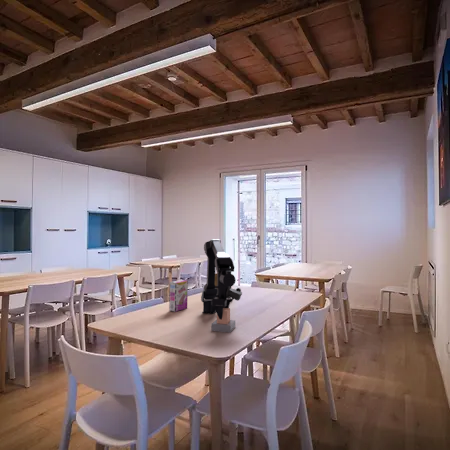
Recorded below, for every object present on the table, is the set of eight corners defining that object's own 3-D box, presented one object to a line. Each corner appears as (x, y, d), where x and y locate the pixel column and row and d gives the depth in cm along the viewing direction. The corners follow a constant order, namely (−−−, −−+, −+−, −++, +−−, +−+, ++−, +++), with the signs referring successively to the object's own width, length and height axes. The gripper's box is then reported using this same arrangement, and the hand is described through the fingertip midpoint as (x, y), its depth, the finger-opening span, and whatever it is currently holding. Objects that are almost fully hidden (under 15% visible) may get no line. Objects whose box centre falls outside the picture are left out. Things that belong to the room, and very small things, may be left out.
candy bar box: (175, 312, 184) (175, 282, 185) (168, 311, 187) (169, 282, 187) (188, 308, 194) (188, 280, 194) (181, 307, 196) (181, 279, 197)
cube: (216, 323, 152) (216, 310, 152) (220, 320, 157) (220, 307, 157) (227, 324, 151) (227, 310, 151) (230, 321, 156) (230, 308, 156)
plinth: (211, 330, 151) (211, 324, 151) (217, 325, 159) (217, 318, 160) (230, 332, 148) (230, 325, 148) (235, 326, 157) (235, 320, 157)
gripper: (235, 287, 143) (235, 323, 143) (244, 280, 161) (244, 313, 161) (211, 286, 146) (211, 321, 146) (222, 279, 164) (222, 311, 164)
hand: (223, 316), depth 154 cm, fingers open, 9 cm apart
